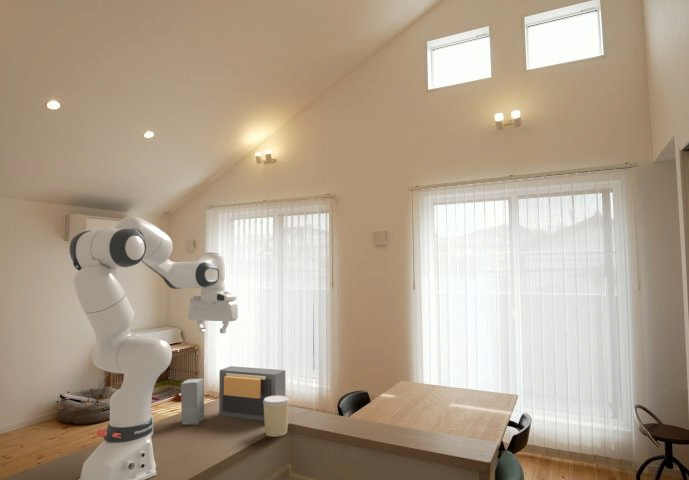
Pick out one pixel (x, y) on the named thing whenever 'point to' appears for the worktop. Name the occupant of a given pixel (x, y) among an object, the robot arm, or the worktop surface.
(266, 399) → the coffee cup
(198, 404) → the skincare box
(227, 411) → the grey rectangular box
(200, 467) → the worktop surface
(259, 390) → the panel
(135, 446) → the robot arm
